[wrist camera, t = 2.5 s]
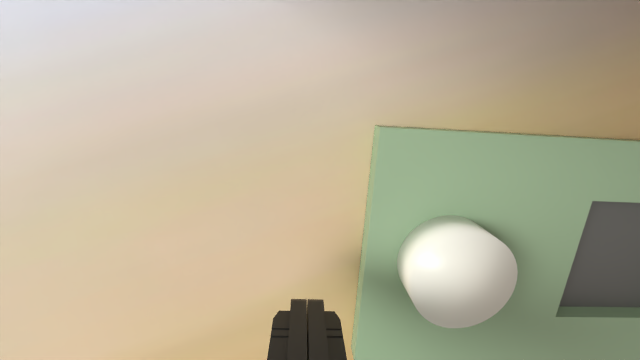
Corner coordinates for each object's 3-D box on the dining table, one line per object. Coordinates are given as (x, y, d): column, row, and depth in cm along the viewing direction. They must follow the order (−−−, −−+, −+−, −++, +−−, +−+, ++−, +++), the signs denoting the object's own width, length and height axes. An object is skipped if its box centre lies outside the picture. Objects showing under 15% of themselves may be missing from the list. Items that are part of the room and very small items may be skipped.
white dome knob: (403, 213, 18) (419, 231, 15) (498, 216, 18) (529, 234, 16) (391, 299, 19) (404, 328, 17) (479, 300, 20) (504, 328, 17)
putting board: (374, 125, 17) (495, 169, 7) (739, 145, 19) (1311, 206, 8) (349, 363, 22) (395, 620, 11) (645, 362, 24) (934, 583, 13)
